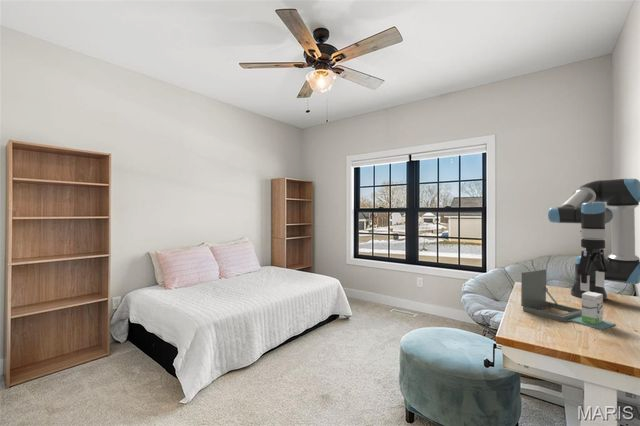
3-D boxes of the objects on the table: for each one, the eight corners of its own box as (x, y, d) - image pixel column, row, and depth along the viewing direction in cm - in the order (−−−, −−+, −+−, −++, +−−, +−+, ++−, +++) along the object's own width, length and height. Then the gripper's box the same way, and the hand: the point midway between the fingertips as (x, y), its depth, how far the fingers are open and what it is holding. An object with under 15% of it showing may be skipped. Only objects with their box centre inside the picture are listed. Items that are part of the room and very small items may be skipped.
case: (544, 304, 151) (544, 269, 151) (585, 314, 136) (586, 275, 136) (521, 310, 141) (521, 272, 141) (562, 321, 126) (563, 279, 126)
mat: (582, 316, 133) (582, 315, 133) (615, 325, 124) (615, 323, 124) (569, 320, 128) (569, 319, 128) (602, 329, 118) (602, 328, 118)
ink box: (596, 325, 121) (596, 296, 121) (581, 321, 126) (581, 293, 125) (603, 321, 126) (603, 293, 126) (587, 317, 130) (588, 290, 130)
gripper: (595, 236, 135) (594, 283, 135) (567, 239, 123) (567, 290, 124) (617, 238, 128) (617, 286, 128) (590, 241, 117) (589, 294, 117)
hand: (592, 288), depth 126 cm, fingers open, 13 cm apart
